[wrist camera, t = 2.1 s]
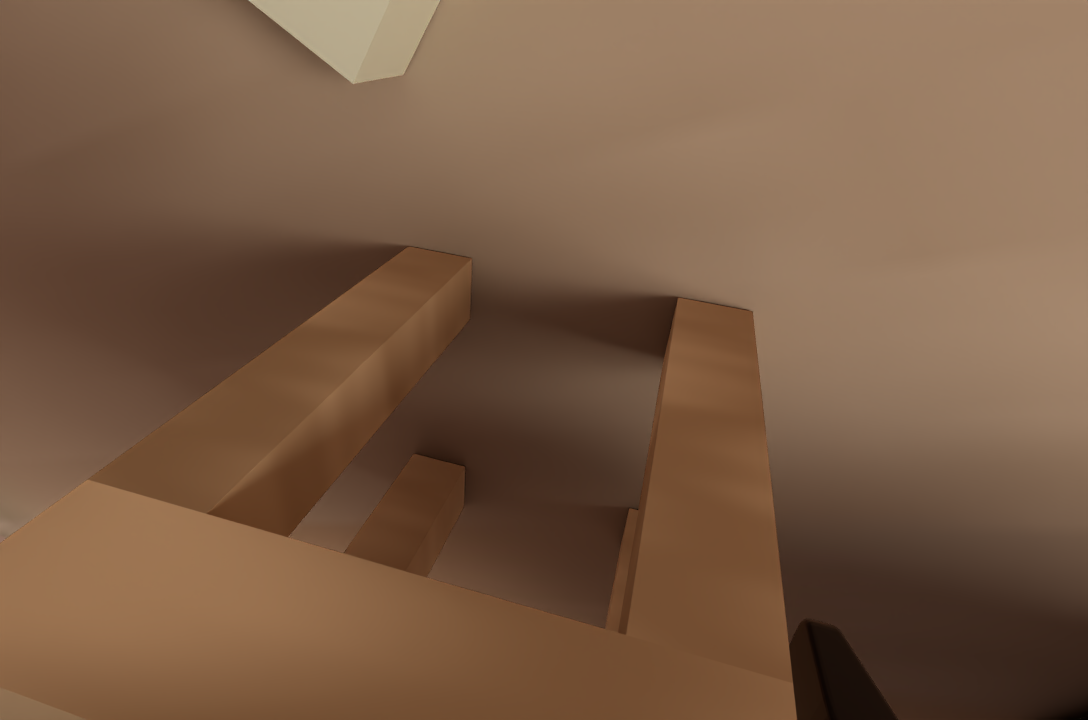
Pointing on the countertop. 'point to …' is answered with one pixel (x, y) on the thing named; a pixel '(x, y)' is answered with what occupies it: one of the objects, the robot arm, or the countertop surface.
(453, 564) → the countertop surface
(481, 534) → the countertop surface
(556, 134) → the countertop surface
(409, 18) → the sage board
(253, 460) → the maple stool
